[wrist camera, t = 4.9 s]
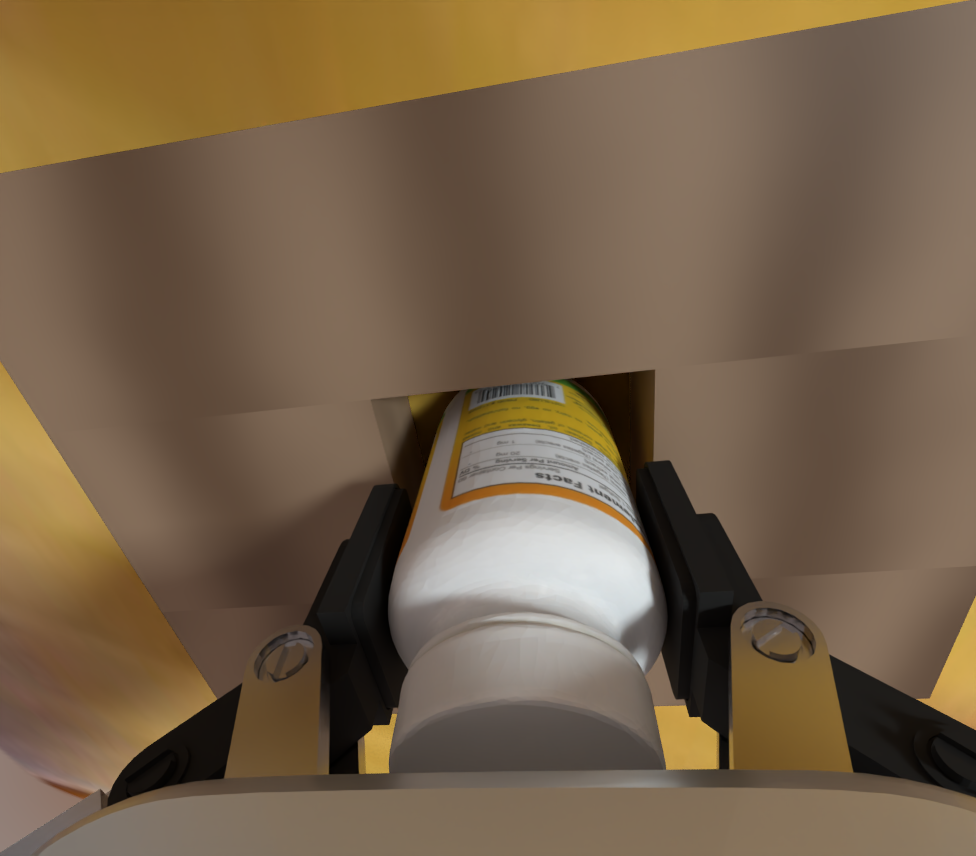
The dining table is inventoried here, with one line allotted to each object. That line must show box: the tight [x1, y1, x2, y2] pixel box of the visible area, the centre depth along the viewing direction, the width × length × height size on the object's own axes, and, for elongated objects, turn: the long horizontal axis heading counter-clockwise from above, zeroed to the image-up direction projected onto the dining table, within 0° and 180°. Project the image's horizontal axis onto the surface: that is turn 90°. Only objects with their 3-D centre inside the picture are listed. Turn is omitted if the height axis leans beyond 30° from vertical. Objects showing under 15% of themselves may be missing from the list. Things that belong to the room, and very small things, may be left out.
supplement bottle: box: [388, 378, 668, 773], centre depth 11 cm, size 5×5×10 cm
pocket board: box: [0, 0, 976, 714], centre depth 14 cm, size 24×18×3 cm
